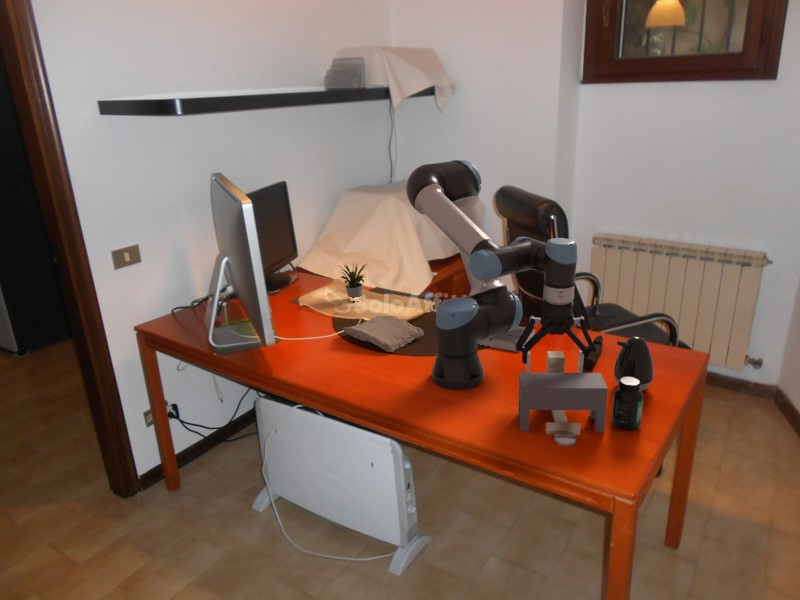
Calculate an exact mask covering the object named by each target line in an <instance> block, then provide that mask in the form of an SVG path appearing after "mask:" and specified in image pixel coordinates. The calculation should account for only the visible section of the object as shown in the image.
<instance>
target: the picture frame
mask: <svg viewBox="0 0 800 600" xmlns="http://www.w3.org/2000/svg"><path fill="white" fill-rule="evenodd" d="M526 327H527V326H525V327H524V326H519V325H518V327H517V328H515V329H514V330H512V331H509V332H507V333H505V334H500V335H497V336H494V337H490V338H487V339H484V340H480V341H478V344H480V345H479V346H481V345H485V346H484V347H487V346H490V347H489V348H493V347H494V348H493V349H500V350H505V351H512V352H516V353H521V351H517V350H516V343H517V342H518V340H519V338H520V337H521V335H522V333H523V332H524V330H525V328H526ZM535 334H536V328H534V329H533V331H532V332H531V334H530V335H529V337H528V339H527V340H526V342H525V344H526V343H527V342H528V341H529V340H530V339H531V338H532V337H533V336H534V335H535ZM525 344H524V345H525ZM524 345H523V346H524Z"/></svg>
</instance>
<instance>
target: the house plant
mask: <svg viewBox="0 0 800 600" xmlns="http://www.w3.org/2000/svg"><path fill="white" fill-rule="evenodd" d="M355 262H356V261H353V264H352V267H354V264H355ZM367 265H368V263H365V264H364V265H362V267H361V268H360V269H359V271H358V263H356V264H355V267H354V268H353V270H352V271H351V270H350V268H349V265H348V264H346V263H345V262H344V264H343V266H344V268H345V269H346V270H345V269H344V268H343V267H341V266H340V265H337V264H336V266H337V267H340V268H341V270H342V271H341V273H342V274H343V275H341V276H340V277H339V279H340V278H341V279H343V281H344V285H345V290H346V293H347V297H348V296H349V297H352V298H355V297H360V296H362V297H363V290H364V289H363V288H364V283H365V280H364V278H365V277H367V275H364V274H361V273H362V271H363V270H365V269H366V268H365V267H366V266H367ZM343 271H344V272H343Z"/></svg>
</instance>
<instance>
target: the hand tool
mask: <svg viewBox="0 0 800 600" xmlns="http://www.w3.org/2000/svg"><path fill="white" fill-rule="evenodd" d="M592 342H593V344H594V346H595V348H596V352H590V353H589V355H588V362H587V365H583V371H593V370H594V367H595V364H596V362H597V361H598V358H599V355H600V354H602V350H603V345H604V343H603V342H604V338H603V336H602V335H596V337H595V338H594V339H593V340H592Z"/></svg>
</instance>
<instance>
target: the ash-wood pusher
mask: <svg viewBox="0 0 800 600" xmlns="http://www.w3.org/2000/svg"><path fill="white" fill-rule="evenodd" d="M565 363H566V357H565V355H564V351H563V350H561V351H560V350H559V351H558V350H548V351H546V368H545V369H546V372H545V373H565ZM565 411H566V410H550V412H551V417H552V421H553V422H551V421H549V422H548V421H547V422H545V435H549V436H550V435H551V436H553V435H554V434H555V433H556V432H558V431H563V430H564V431H570V432H572V433H574V434H575V435H576V436H581V428H582V426H581V423H580V422H568V419H567V415H566V412H565Z"/></svg>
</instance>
